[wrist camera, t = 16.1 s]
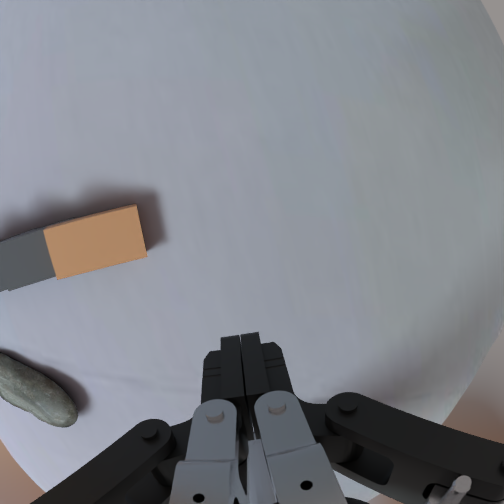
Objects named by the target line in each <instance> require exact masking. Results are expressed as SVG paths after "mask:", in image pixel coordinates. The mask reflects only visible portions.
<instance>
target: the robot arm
mask: <svg viewBox="0 0 504 504" xmlns="http://www.w3.org/2000/svg"><path fill="white" fill-rule="evenodd" d="M240 336H241V342H240V337H239V335H235V336H228V337H221V350H218V351H210V352H209V353H208V355H207V356H206V358H205V359H204V364H203V378H202V394H201V405H199V406H198V407H197V408H196V410H195V412H194V414H193V418H191V419H190V420H188V421H186V422H183V423H180V424H177V425H174V426H171V427H170V426H169V425H168V424H167V423H166V422H165V421H162V420H159V419H149V420H145V421H142V422H140V423H139V424H137V425H136V426H135V427H133V428H132V429H131V430H129V431H128V432H127V433H126V434H124V435H123V436H122V437H121V438H119V439H118V440H117V441H115V442H114V443H113V444H112V445H110V446H109V447H108V448H106V449H105V450H104V451H102V452H101V453H100V454H99V455H97V456H96V457H95V458H93V459H92V460H91V461H89V462H88V463H87V464H85V465H84V466H83V467H81V468H80V469H78V470H77V471H76V472H74V473H73V474H72V475H70V476H69V477H67V478H66V479H65V480H63V481H62V482H61V483H59V484H58V485H56V486H55V487H53V488H52V489H51V490H49V491H48V492H46V493H45V494H43V495H42V496H41V497H39V498H38V499H36V500H35V501H34V502H32V503H30V504H369V503H367V502H364V501H361V500H358V499H354V498H348V497H344V494H343V492H342V490H341V487H340V485H339V483H338V481H337V478H336V476H335V474H334V471H333V470H335V471H337V472H339V473H341V474H343V475H345V476H346V477H348V478H350V479H352V480H354V481H356V482H358V483H360V484H362V485H364V486H366V487H368V488H371V489H373V490H375V491H377V492H379V493H381V494H384V495H386V496H388V497H390V498H393V499H395V500H397V501H399V502H402V503H404V504H504V444H502V443H498V442H494V441H491V440H487V439H484V438H480V437H477V436H474V435H470V434H467V433H464V432H461V431H458V430H454V429H452V428H449V427H446V426H443V425H440V424H437V423H434V422H431V421H428V420H426V419H423V418H420V417H417V416H415V415H412V414H409V413H406V412H404V411H401V410H398V409H396V408H393V407H391V406H388V405H385V404H383V403H380V402H378V401H375V400H373V399H370V398H368V397H366V396H363V395H361V394H358V393H353V392H345V393H340V394H337V395H335V396H333V397H332V398H331V399H329V401H328V402H327V404H312V403H307V402H304V401H302V400H300V399H299V398H298V397H297V396H296V395H295V394H294V392H293V389H292V385H291V381H290V378H289V374H288V371H287V367H286V364H285V360H284V357H283V353H282V350H281V348H280V347H279V346H278V345H277V344H276V343H274V342H270V343H264V344H261V343H260V337H259V332H254V333H248V334H241V335H240ZM241 346H242V347H241ZM252 423H253V424H252ZM253 427H254V432H255V433H254V432H253Z"/></svg>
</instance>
